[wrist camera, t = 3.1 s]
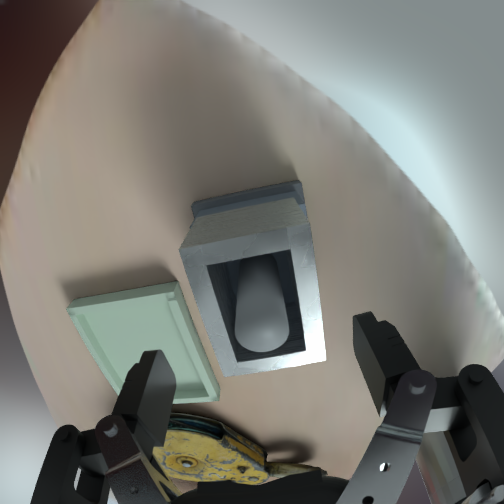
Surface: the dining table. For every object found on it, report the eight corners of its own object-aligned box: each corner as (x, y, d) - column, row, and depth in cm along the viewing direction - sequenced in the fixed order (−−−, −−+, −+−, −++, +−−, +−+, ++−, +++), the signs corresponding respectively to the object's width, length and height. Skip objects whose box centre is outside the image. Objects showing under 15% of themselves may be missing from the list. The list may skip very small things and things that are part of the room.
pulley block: (299, 507, 34) (107, 467, 29) (294, 481, 40) (116, 438, 35) (352, 466, 31) (118, 414, 26) (342, 436, 36) (132, 381, 31)
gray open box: (293, 197, 17) (309, 222, 13) (311, 310, 20) (325, 359, 16) (196, 217, 18) (178, 249, 13) (228, 326, 21) (224, 377, 16)
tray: (178, 280, 25) (173, 291, 23) (220, 388, 30) (219, 400, 29) (74, 299, 26) (66, 308, 24) (128, 393, 31) (124, 404, 29)
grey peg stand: (298, 180, 22) (344, 229, 11) (313, 274, 25) (351, 373, 14) (193, 201, 22) (146, 268, 12) (219, 292, 25) (203, 398, 15)
